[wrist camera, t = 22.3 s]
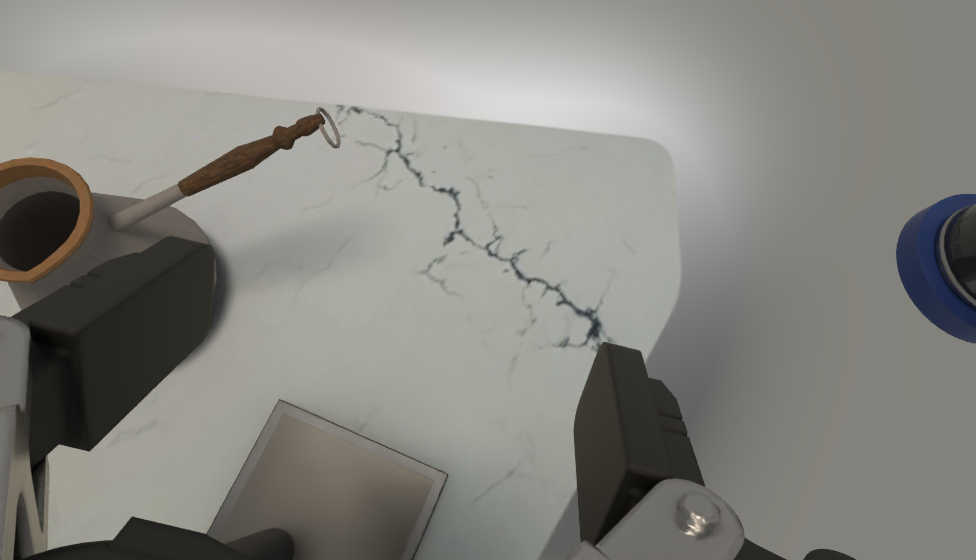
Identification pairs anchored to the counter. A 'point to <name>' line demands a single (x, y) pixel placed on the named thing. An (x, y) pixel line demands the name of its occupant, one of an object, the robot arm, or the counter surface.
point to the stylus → (265, 545)
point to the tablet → (329, 492)
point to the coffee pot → (104, 214)
